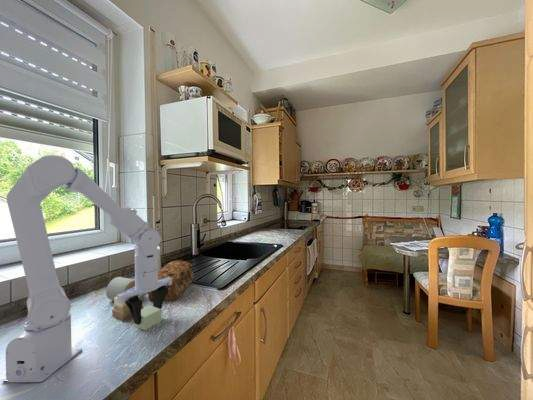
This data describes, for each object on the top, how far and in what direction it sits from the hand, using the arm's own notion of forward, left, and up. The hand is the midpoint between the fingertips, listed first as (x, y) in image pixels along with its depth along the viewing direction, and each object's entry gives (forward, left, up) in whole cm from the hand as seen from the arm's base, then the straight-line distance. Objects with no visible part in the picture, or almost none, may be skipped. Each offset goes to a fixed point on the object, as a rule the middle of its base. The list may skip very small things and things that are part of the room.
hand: (147, 318), depth 63 cm
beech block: (+5, +9, +1) cm, 11 cm away
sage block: (0, 0, -1) cm, 1 cm away
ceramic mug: (+17, +17, -2) cm, 24 cm away
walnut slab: (+5, +9, -2) cm, 10 cm away
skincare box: (+31, +16, -2) cm, 35 cm away
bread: (+23, +3, -2) cm, 23 cm away
